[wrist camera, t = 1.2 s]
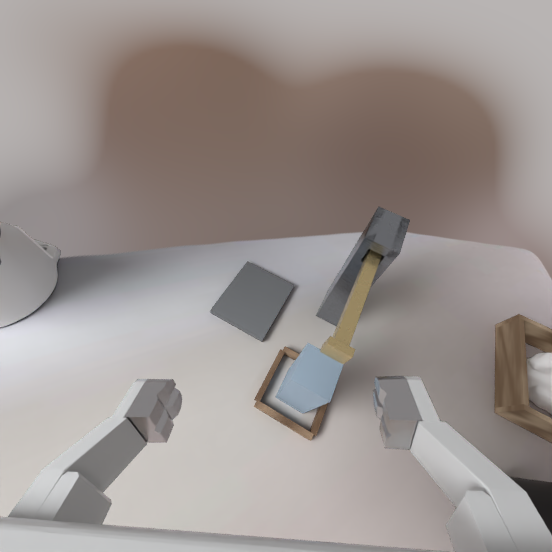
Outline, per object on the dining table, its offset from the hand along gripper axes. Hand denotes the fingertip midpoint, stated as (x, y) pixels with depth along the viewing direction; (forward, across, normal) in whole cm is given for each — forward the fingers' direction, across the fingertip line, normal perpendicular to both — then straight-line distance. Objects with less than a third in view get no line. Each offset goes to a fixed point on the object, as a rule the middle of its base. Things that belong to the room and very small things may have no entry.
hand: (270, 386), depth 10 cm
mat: (+30, +9, +18) cm, 36 cm away
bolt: (+17, -6, +9) cm, 20 cm away
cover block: (+17, +2, +26) cm, 31 cm away
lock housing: (+31, -5, +22) cm, 38 cm away
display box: (+25, -38, +35) cm, 58 cm away
